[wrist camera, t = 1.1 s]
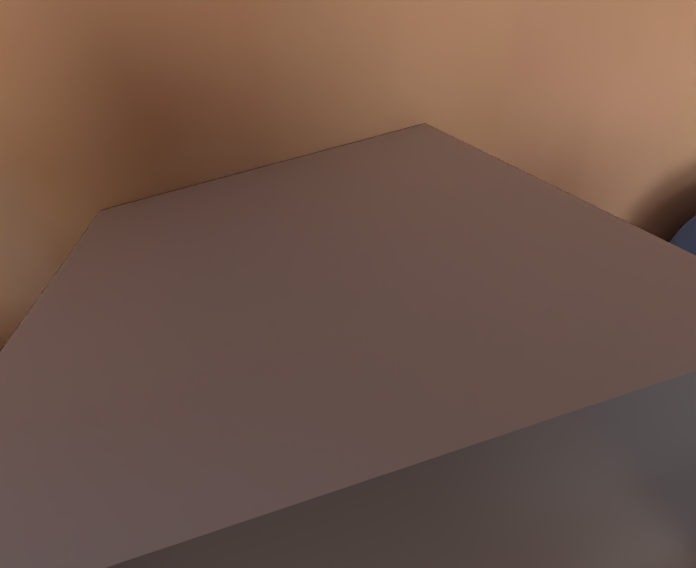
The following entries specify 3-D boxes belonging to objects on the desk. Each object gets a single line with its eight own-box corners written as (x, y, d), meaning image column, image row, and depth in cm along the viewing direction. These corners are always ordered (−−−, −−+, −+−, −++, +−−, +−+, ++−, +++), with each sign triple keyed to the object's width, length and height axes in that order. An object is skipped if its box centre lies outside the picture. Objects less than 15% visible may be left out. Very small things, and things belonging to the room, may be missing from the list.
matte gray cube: (425, 123, 11) (834, 323, 4) (453, 366, 15) (678, 706, 8) (100, 210, 10) (-234, 679, 3) (218, 441, 14) (205, 896, 7)
